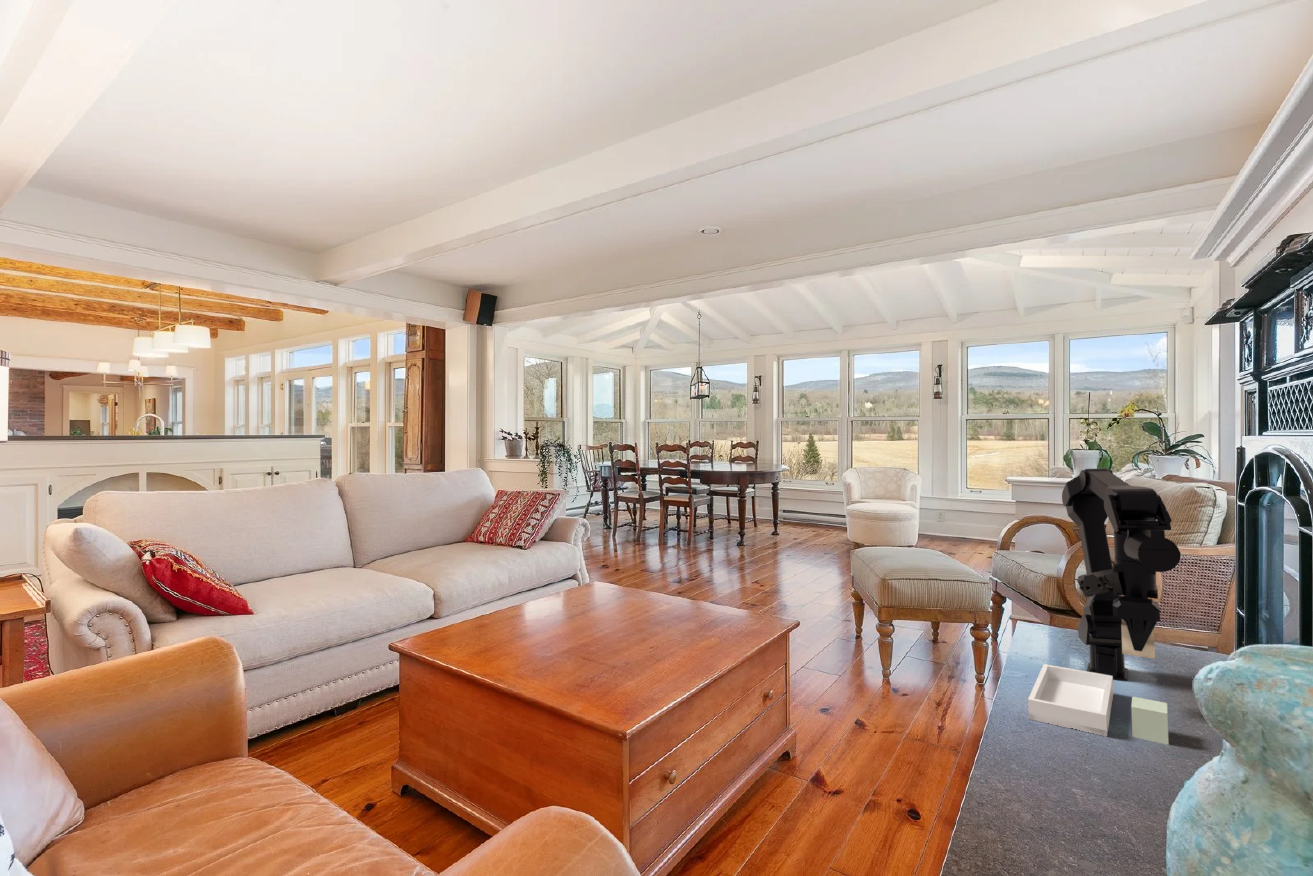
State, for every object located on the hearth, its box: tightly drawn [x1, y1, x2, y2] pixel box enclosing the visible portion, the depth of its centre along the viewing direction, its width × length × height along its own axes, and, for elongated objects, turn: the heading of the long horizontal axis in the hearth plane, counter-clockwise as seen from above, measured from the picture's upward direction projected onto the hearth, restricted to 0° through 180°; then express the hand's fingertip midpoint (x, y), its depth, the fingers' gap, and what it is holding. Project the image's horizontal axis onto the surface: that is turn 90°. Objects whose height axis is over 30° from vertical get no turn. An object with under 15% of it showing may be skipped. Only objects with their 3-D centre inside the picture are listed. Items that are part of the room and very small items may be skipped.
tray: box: [1027, 663, 1114, 737], centre depth 111 cm, size 19×11×4 cm, turn 141°
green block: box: [1130, 696, 1170, 746], centre depth 100 cm, size 4×4×5 cm
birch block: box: [1121, 619, 1156, 660], centre depth 109 cm, size 4×4×5 cm
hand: (1137, 646), depth 109 cm, fingers closed on birch block, 4 cm apart
